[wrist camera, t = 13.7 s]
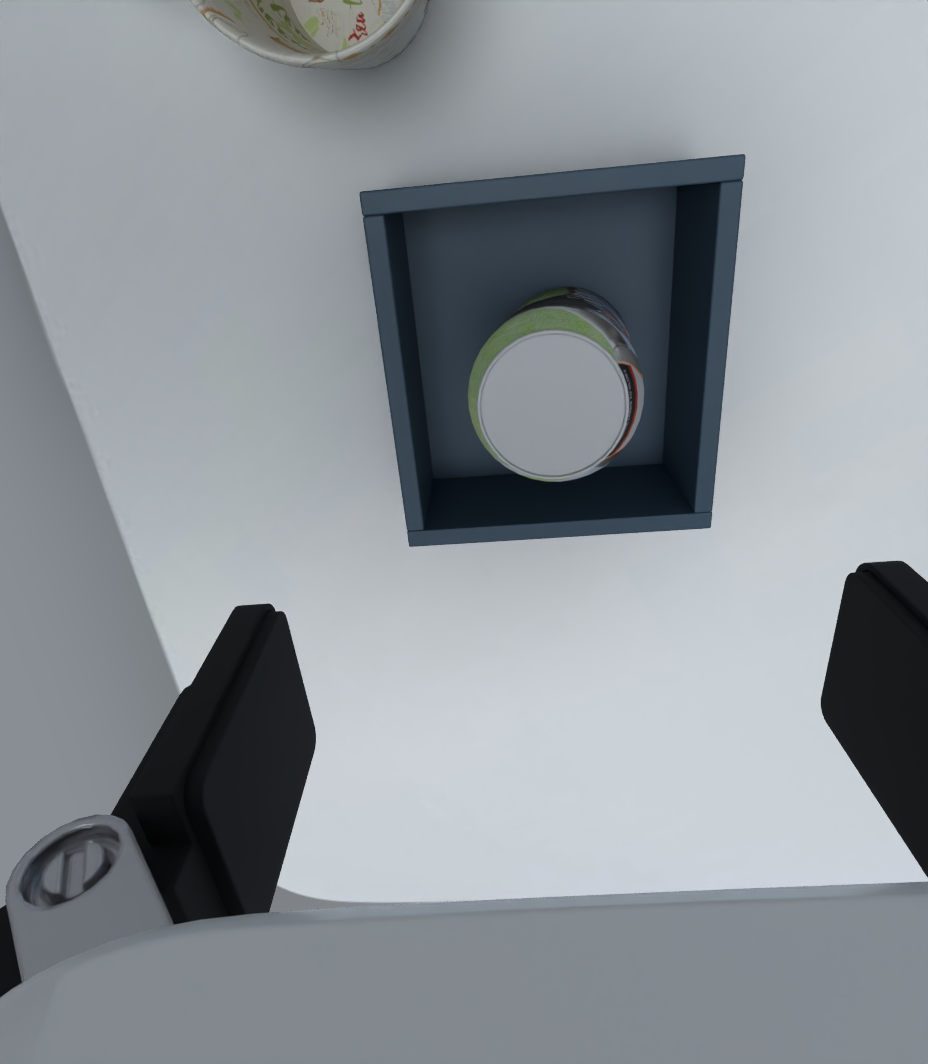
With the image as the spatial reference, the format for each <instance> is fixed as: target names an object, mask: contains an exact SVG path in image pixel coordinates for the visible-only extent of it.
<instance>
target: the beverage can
mask: <svg viewBox="0 0 928 1064" xmlns="http://www.w3.org/2000/svg"><path fill="white" fill-rule="evenodd" d="M468 405H469V412H470V416H471V420H472V424H473V426H474V428H475V431H476V433H477V435H478V437H479V439H480V440H481V442H482V443H483V445H484V446H485V448H486V449H487V450H488V451H489V452H490V454H491V455H492V456H493V457H494V458H495V459H496V460H497V461H499V462H500V463H501V464H503V465H504V466H505V467H506V468H508V469H510V470H512V471H514V472H516V473H517V474H519V475H522V476H525V477H528V478H531V479H535V480H541V481H555V482H561V481H568V480H574V479H578V478H581V477H584V476H587V475H590V474H592V473H593V472H595V471H597V470H599V469H601V468H603V467H604V466H606V465H607V464H608V463H609V462H611V461H612V460H613V459H615V458H616V457H617V456H618V454H619V453H620V452H621V451H622V450H623V449H624V448H625V447H626V445H627V444H628V442H629V441H630V439H631V438H632V436H633V435H634V433H635V430H636V428H637V426H638V423H639V421H640V418H641V413H642V409H643V405H644V382H643V375H642V371H641V368H640V365H639V361H638V358H637V356H636V353H635V350H634V347H633V345H632V342H631V339H630V337H629V334H628V331H627V328H626V326H625V323H624V322H623V320H622V318H621V316H620V314H619V313H618V312H617V311H616V309H615V308H614V307H613V306H612V305H611V304H610V303H609V302H608V301H606V300H605V299H604V298H603V297H601V296H599V295H597V294H595V293H594V292H591V291H588V290H585V289H582V288H575V287H558V288H554V289H550V290H546V291H544V292H541V293H539V294H537V295H535V296H534V297H532V298H531V299H529V300H528V301H526V302H525V303H524V304H523V305H522V306H521V307H520V308H519V309H518V310H517V311H516V312H515V313H514V314H513V315H512V316H511V317H510V318H509V319H508V320H507V321H506V322H505V323H503V324H502V325H501V326H500V327H499V328H498V329H497V330H496V331H495V332H494V333H493V334H492V335H491V336H490V338H489V339H488V340H487V342H486V343H485V344H484V346H483V347H482V348H481V350H480V352H479V354H478V356H477V358H476V360H475V362H474V365H473V368H472V372H471V375H470V379H469V387H468Z"/></svg>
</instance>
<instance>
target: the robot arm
mask: <svg viewBox="0 0 928 1064" xmlns="http://www.w3.org/2000/svg"><path fill="white" fill-rule="evenodd" d="M821 709H822V713H823V716H824V719H825V721H826V723H827V724H828V726H829V727H830V729H831V730H832V732H833V733H834V735H835V736H836V738H837V740H838V741H839V743H840V744H841V746H842V747H843V749H844V750H845V752H846V753H847V755H848V756H849V758H850V759H851V761H852V762H853V764H854V766H855V767H856V769H857V770H858V772H859V773H860V775H861V776H862V778H863V779H864V781H865V782H866V784H867V785H868V787H869V788H870V790H871V792H872V793H873V795H874V796H875V798H876V799H877V801H878V802H879V804H880V805H881V807H882V808H883V810H884V811H885V813H886V814H887V816H888V818H889V819H890V821H891V822H892V824H893V825H894V827H895V828H896V830H897V831H898V833H899V834H900V836H901V837H902V839H903V840H904V842H905V844H906V845H907V847H908V848H909V850H910V851H911V853H912V854H913V856H914V857H915V859H916V860H917V862H918V863H919V865H920V866H921V868H922V870H923V871H924V873H925V874H926V876H927V877H928V582H927V581H926V580H925V579H924V578H922V577H921V576H920V575H919V574H918V573H917V572H916V571H914V570H913V569H912V568H911V567H910V566H909V565H908V564H906V563H904V562H903V561H887V562H872V563H863V564H861V565H859V567H858V568H857V570H856V572H855V573H850V574H849V575H848V576H847V578H846V581H845V585H844V590H843V595H842V599H841V604H840V609H839V614H838V619H837V624H836V628H835V633H834V638H833V643H832V648H831V653H830V657H829V662H828V667H827V672H826V677H825V682H824V686H823V691H822V696H821ZM315 744H316V732H315V726H314V722H313V718H312V715H311V711H310V707H309V703H308V699H307V695H306V691H305V687H304V684H303V680H302V676H301V672H300V668H299V664H298V660H297V656H296V653H295V649H294V645H293V641H292V637H291V633H290V629H289V625H288V621H287V618H286V615H285V614H284V612H282V611H278V612H276V611H275V609H274V607H273V606H272V605H271V604H257V605H242V606H237V607H235V609H234V610H233V611H232V613H231V615H230V617H229V618H228V620H227V622H226V624H225V625H224V627H223V629H222V631H221V633H220V634H219V636H218V638H217V640H216V641H215V643H214V645H213V647H212V649H211V650H210V652H209V654H208V656H207V657H206V659H205V661H204V663H203V664H202V666H201V668H200V670H199V672H198V673H197V675H196V677H195V679H194V680H193V682H192V684H191V685H190V686H188V687H186V688H185V689H184V690H183V691H182V693H181V694H180V695H179V697H178V699H177V700H176V702H175V704H174V706H173V707H172V709H171V711H170V713H169V715H168V716H167V718H166V720H165V721H164V723H163V725H162V726H161V729H160V730H159V732H158V733H157V735H156V737H155V739H154V740H153V742H152V744H151V746H150V748H149V749H148V751H147V753H146V754H145V756H144V758H143V760H142V761H141V763H140V765H139V767H138V768H137V770H136V772H135V774H134V775H133V777H132V779H131V780H130V782H129V784H128V786H127V787H126V789H125V791H124V793H123V794H122V796H121V798H120V799H119V801H118V803H117V805H116V806H115V808H114V810H113V812H112V814H111V815H93V816H88V817H84V818H80V819H77V820H74V821H72V822H70V823H68V824H65V825H63V826H61V827H59V828H57V829H56V830H54V831H53V832H51V833H50V834H48V835H47V836H45V837H43V838H42V839H41V840H40V841H38V842H37V843H36V844H35V845H34V846H33V847H32V848H31V849H30V850H29V851H28V852H26V854H25V855H24V856H23V857H22V859H21V860H20V861H19V863H18V864H17V865H16V867H15V868H14V869H13V871H12V874H11V876H10V878H9V881H8V883H7V885H6V905H5V906H4V907H2V908H0V1064H928V882H909V883H883V884H856V885H830V886H803V887H777V888H750V889H727V890H703V891H680V892H656V893H633V894H610V895H588V896H565V897H543V898H522V899H501V900H481V901H460V902H440V903H420V904H399V905H380V906H361V907H345V908H330V909H315V910H300V911H286V912H270V913H269V911H270V907H271V903H272V900H273V896H274V893H275V889H276V886H277V882H278V879H279V875H280V871H281V868H282V864H283V861H284V857H285V854H286V850H287V847H288V843H289V840H290V836H291V832H292V829H293V825H294V822H295V818H296V815H297V811H298V808H299V804H300V800H301V797H302V793H303V790H304V786H305V783H306V779H307V776H308V772H309V768H310V765H311V761H312V758H313V754H314V750H315Z"/></svg>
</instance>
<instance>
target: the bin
mask: <svg viewBox="0 0 928 1064" xmlns="http://www.w3.org/2000/svg"><path fill="white" fill-rule="evenodd" d="M744 166H745V155H744V154H740V155H730V156H719V157H709V158H699V159H689V160H679V161H668V162H658V163H648V164H638V165H628V166H617V167H607V168H597V169H587V170H577V171H566V172H556V173H546V174H536V175H526V176H515V177H505V178H495V179H485V180H475V181H464V182H454V183H444V184H434V185H424V186H413V187H403V188H393V189H383V190H373V191H362V192H360V201H361V208H362V214H363V216H364V217H363V222H364V229H365V236H366V243H367V250H368V257H369V264H370V271H371V278H372V285H373V292H374V299H375V306H376V314H377V321H378V328H379V335H380V342H381V349H382V356H383V363H384V370H385V377H386V384H387V391H388V398H389V405H390V412H391V420H392V427H393V434H394V441H395V448H396V455H397V462H398V469H399V476H400V483H401V490H402V497H403V504H404V511H405V519H406V526H407V530H408V531H407V534H408V541H409V546H410V547H413V546H429V545H445V544H461V543H477V542H493V541H509V540H525V539H542V538H558V537H574V536H590V535H606V534H622V533H638V532H654V531H670V530H686V529H702V528H710V527H711V519H712V512H711V511H712V505H713V495H714V484H715V473H716V463H717V452H718V442H719V431H720V420H721V410H722V399H723V388H724V378H725V367H726V357H727V346H728V335H729V325H730V314H731V304H732V293H733V282H734V272H735V261H736V250H737V240H738V229H739V219H740V208H741V197H742V187H743V181H742V179H743V177H744ZM558 287H575V288H582V289H585V290H588V291H591V292H594V293H595V294H597V295H599V296H601V297H603V298H604V299H605V300H606V301H608V302H609V303H610V304H611V305H612V306H613V307H614V308H615V309H616V311H617V312H618V313H619V314H620V316H621V318H622V320H623V322H624V323H625V326H626V328H627V331H628V334H629V337H630V339H631V342H632V345H633V347H634V350H635V353H636V356H637V358H638V361H639V365H640V368H641V371H642V375H643V382H644V405H643V409H642V413H641V418H640V421H639V423H638V426H637V428H636V430H635V433H634V435H633V436H632V438H631V439H630V441H629V442H628V444H627V445H626V447H625V448H624V449H623V450H622V451H621V452H620V453H619V454H618V456H617V457H616V458H615V459H613V460H612V461H611V462H609V463H608V464H607V465H606V466H604V467H603V468H601V469H599V470H597V471H595V472H593V473H592V474H590V475H587V476H584V477H581V478H578V479H574V480H568V481H561V482H555V481H541V480H535V479H531V478H528V477H525V476H522V475H519V474H517V473H516V472H514V471H512V470H510V469H508V468H506V467H505V466H504V465H503V464H501V463H500V462H499V461H497V460H496V459H495V458H494V457H493V456H492V455H491V454H490V452H489V451H488V450H487V449H486V448H485V446H484V445H483V443H482V442H481V440H480V439H479V437H478V435H477V433H476V431H475V428H474V426H473V424H472V420H471V416H470V412H469V405H468V387H469V379H470V375H471V372H472V368H473V365H474V362H475V360H476V358H477V356H478V354H479V352H480V350H481V348H482V347H483V346H484V344H485V343H486V342H487V340H488V339H489V338H490V336H491V335H492V334H493V333H494V332H495V331H496V330H497V329H498V328H499V327H500V326H501V325H502V324H503V323H505V322H506V321H507V320H508V319H509V318H510V317H511V316H512V315H513V314H514V313H515V312H516V311H517V310H518V309H519V308H520V307H521V306H522V305H523V304H524V303H525V302H526V301H528V300H529V299H531V298H532V297H534V296H535V295H537V294H539V293H541V292H544V291H546V290H550V289H554V288H558Z"/></svg>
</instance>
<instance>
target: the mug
mask: <svg viewBox="0 0 928 1064" xmlns="http://www.w3.org/2000/svg"><path fill="white" fill-rule="evenodd" d="M190 1H191V2H192V3H193V5H194V6H195V7H196V8H197V9H198V10H199V11H200V13H201V14H202V15H203V16H204V17H205V18H206V19H207V20H208V21H209V22H210V23H211V24H212V25H214V26H215V27H216V28H217V29H218V30H219V31H220V32H222V33H223V34H224V35H226V36H227V37H228V38H230V39H231V40H232V41H234V42H235V43H237V44H239V45H240V46H242V47H244V48H245V49H247V50H249V51H251V52H253V53H255V54H257V55H259V56H261V57H263V58H266V59H269V60H272V61H274V62H278V63H282V64H286V65H290V66H296V67H303V68H332V69H366V68H372V67H376V66H379V65H382V64H384V63H386V62H388V61H390V60H391V59H393V58H394V57H396V56H397V55H398V54H400V53H401V52H402V51H403V50H404V49H405V48H406V47H407V46H408V44H409V43H410V42H411V41H412V39H413V38H414V36H415V35H416V33H417V31H418V30H419V28H420V26H421V23H422V21H423V19H424V16H425V13H426V10H427V6H428V2H429V0H190Z"/></svg>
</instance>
